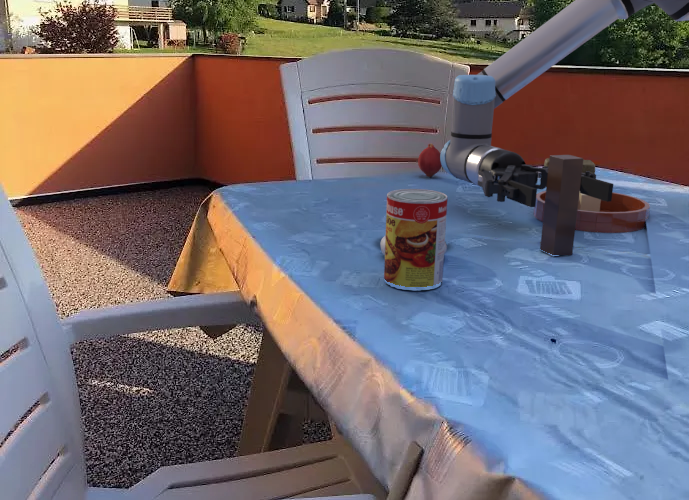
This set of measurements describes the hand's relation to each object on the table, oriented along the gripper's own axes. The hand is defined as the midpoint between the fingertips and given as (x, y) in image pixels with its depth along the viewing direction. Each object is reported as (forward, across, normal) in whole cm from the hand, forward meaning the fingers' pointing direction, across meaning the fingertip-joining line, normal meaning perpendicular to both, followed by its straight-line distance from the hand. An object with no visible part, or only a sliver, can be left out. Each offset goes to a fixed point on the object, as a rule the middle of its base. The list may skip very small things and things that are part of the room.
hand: (573, 195), depth 105 cm
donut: (-7, +22, -10) cm, 26 cm away
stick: (-2, 0, -10) cm, 10 cm away
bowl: (-17, -18, -10) cm, 27 cm away
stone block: (-50, -38, -10) cm, 64 cm away
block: (-22, -21, -9) cm, 32 cm away
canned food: (+3, +27, -10) cm, 29 cm away
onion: (-64, -8, -10) cm, 65 cm away
